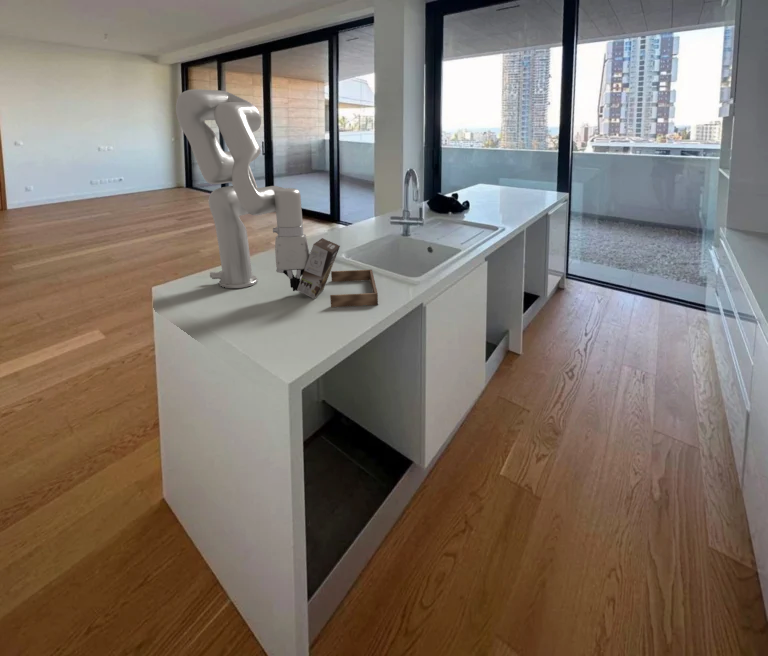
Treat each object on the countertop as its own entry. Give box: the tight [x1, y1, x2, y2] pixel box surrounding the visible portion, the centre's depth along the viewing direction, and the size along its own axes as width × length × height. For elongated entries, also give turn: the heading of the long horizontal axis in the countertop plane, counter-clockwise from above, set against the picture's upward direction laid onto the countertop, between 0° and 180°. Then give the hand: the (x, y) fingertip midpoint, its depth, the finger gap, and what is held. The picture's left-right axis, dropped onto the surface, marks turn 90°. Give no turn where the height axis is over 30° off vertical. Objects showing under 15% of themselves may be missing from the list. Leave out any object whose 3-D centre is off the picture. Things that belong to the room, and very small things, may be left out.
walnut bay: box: [329, 269, 379, 308], centre depth 157 cm, size 14×26×4 cm, turn 5°
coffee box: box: [296, 237, 341, 300], centre depth 153 cm, size 9×6×16 cm
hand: (295, 289), depth 156 cm, fingers closed
